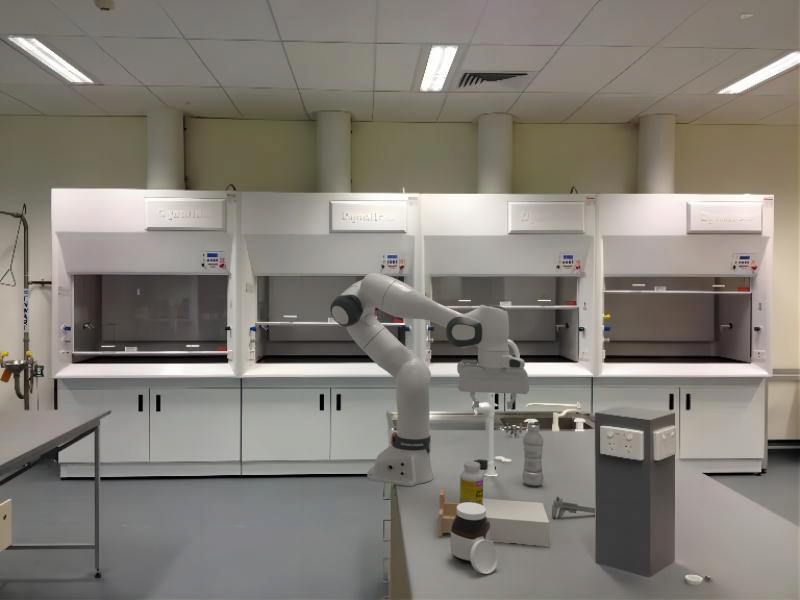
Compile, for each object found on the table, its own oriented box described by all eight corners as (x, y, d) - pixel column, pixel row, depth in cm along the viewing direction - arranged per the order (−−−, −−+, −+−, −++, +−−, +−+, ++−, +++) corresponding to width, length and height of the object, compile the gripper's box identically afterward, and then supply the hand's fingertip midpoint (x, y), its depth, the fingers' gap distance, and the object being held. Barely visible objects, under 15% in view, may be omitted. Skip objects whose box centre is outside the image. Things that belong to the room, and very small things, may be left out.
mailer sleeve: (483, 541, 124) (483, 517, 124) (482, 520, 136) (482, 498, 136) (548, 546, 122) (549, 522, 122) (542, 525, 134) (542, 502, 134)
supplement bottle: (477, 514, 140) (478, 469, 140) (456, 509, 143) (456, 464, 143) (486, 506, 146) (487, 462, 146) (465, 501, 149) (466, 458, 149)
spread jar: (465, 544, 123) (466, 497, 123) (508, 558, 116) (509, 508, 116) (441, 565, 113) (442, 514, 113) (487, 581, 106) (487, 527, 106)
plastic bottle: (544, 489, 159) (545, 427, 159) (522, 487, 161) (523, 426, 161) (542, 482, 166) (543, 422, 166) (521, 480, 167) (522, 421, 167)
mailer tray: (438, 536, 126) (438, 500, 126) (441, 516, 138) (441, 482, 138) (503, 542, 123) (504, 505, 123) (500, 520, 136) (501, 486, 136)
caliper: (553, 520, 138) (553, 497, 138) (551, 518, 139) (552, 496, 139) (619, 515, 141) (620, 493, 141) (617, 514, 142) (617, 492, 142)
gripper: (456, 360, 142) (456, 408, 142) (530, 362, 138) (529, 411, 138) (457, 357, 148) (457, 404, 148) (528, 359, 145) (527, 407, 145)
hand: (492, 407), depth 143 cm, fingers open, 8 cm apart
